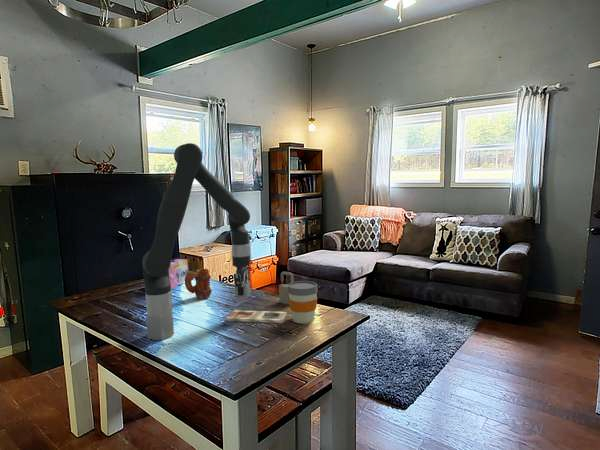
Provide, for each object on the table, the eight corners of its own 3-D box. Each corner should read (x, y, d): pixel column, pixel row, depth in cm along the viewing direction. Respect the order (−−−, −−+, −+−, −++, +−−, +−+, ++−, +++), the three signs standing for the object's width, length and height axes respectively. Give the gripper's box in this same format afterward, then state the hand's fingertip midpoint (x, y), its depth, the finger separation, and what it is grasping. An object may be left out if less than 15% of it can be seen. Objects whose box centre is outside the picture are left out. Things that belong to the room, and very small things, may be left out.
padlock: (283, 300, 185) (282, 270, 184) (297, 303, 181) (296, 272, 179) (278, 302, 182) (277, 271, 180) (291, 305, 177) (291, 274, 176)
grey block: (246, 297, 159) (246, 283, 159) (235, 297, 160) (234, 283, 159) (250, 294, 164) (249, 280, 164) (239, 293, 165) (238, 280, 164)
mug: (206, 293, 199) (204, 265, 198) (216, 296, 194) (214, 267, 192) (181, 300, 188) (180, 271, 186) (191, 304, 183) (189, 273, 181)
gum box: (178, 279, 230) (177, 257, 228) (190, 280, 228) (189, 258, 227) (156, 291, 207) (154, 266, 205) (169, 291, 205) (167, 267, 203)
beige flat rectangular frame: (287, 314, 165) (287, 311, 165) (282, 323, 155) (282, 320, 155) (234, 312, 169) (234, 310, 169) (226, 321, 160) (226, 318, 159)
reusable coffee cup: (321, 315, 163) (320, 281, 162) (314, 326, 151) (313, 289, 150) (293, 313, 167) (292, 280, 165) (284, 323, 155) (283, 288, 153)
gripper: (244, 258, 152) (246, 298, 154) (254, 251, 166) (256, 288, 168) (226, 257, 154) (228, 298, 156) (238, 251, 168) (239, 288, 170)
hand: (242, 293), depth 162 cm, fingers closed on grey block, 5 cm apart
